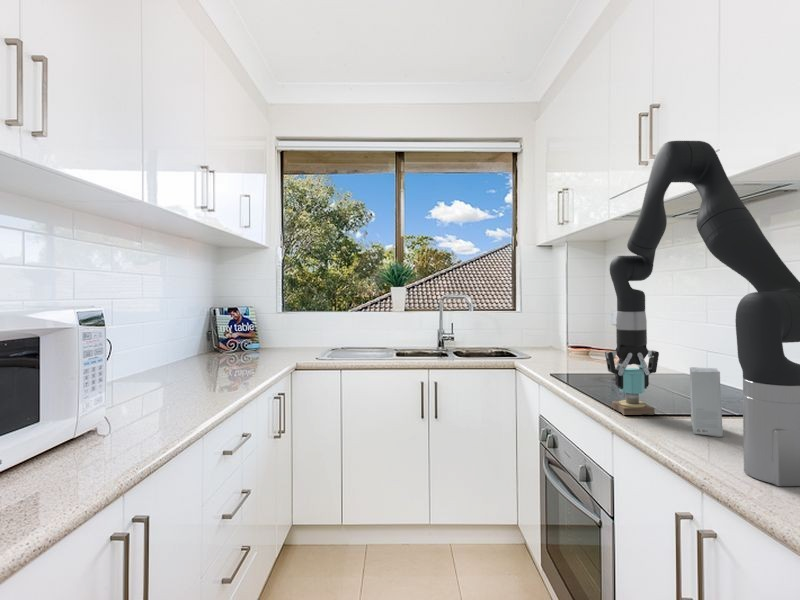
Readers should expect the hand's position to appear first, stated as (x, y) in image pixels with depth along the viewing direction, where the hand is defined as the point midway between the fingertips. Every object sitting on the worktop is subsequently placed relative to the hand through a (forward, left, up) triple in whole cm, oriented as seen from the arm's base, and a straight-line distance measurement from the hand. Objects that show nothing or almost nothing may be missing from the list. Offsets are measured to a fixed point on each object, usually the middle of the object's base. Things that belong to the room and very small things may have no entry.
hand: (632, 388), depth 128 cm
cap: (0, 0, -1) cm, 1 cm away
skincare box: (-18, -9, -7) cm, 21 cm away
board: (0, 0, -7) cm, 7 cm away
